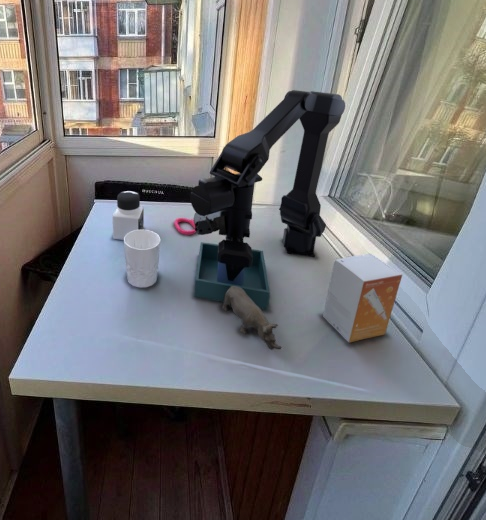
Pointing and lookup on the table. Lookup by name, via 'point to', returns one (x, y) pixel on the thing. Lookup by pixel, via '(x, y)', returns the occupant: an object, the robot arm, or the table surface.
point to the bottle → (223, 273)
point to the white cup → (142, 257)
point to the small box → (361, 296)
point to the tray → (214, 290)
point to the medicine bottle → (127, 214)
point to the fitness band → (182, 229)
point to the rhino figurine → (250, 315)
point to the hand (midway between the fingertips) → (230, 268)
